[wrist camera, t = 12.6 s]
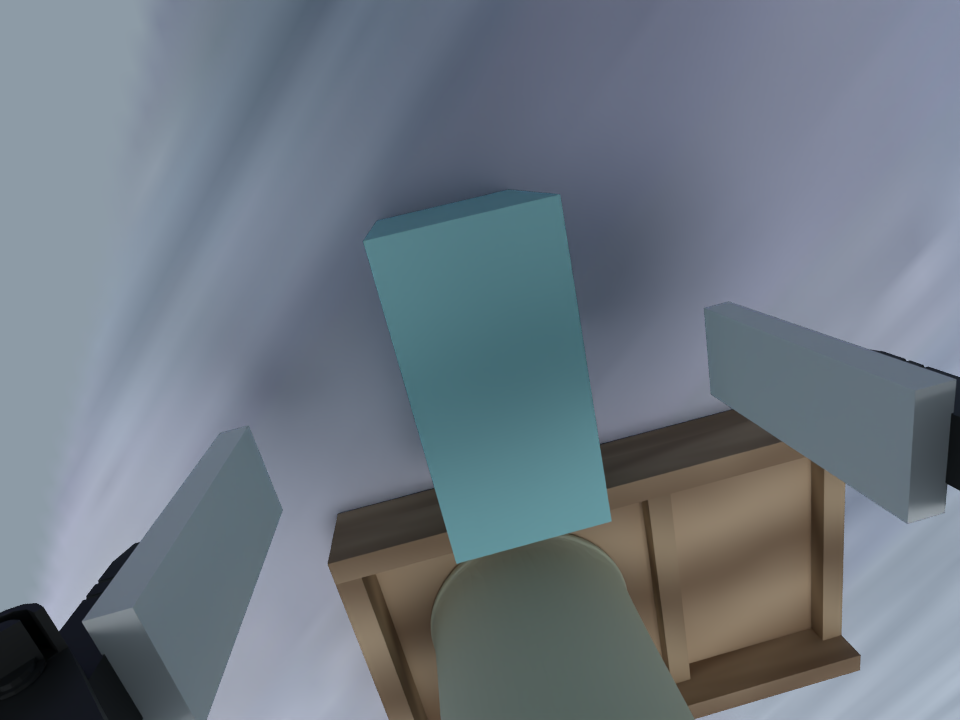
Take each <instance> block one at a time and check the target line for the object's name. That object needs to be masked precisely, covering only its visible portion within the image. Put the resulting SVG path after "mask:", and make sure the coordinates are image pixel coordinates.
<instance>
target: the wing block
mask: <svg viewBox="0 0 960 720" xmlns="http://www.w3.org/2000/svg"><path fill="white" fill-rule="evenodd" d="M363 243H364V246H365V250H366V253H367V257H368V260H369V264H370V267H371V271H372V274H373V278H374V281H375V284H376V288H377V291H378V295H379V298H380V302H381V305H382V309H383V312H384V316H385V319H386V322H387V326H388V329H389V333H390V336H391V340H392V343H393V347H394V350H395V353H396V357H397V360H398V364H399V367H400V371H401V374H402V378H403V381H404V385H405V388H406V391H407V395H408V398H409V402H410V405H411V409H412V412H413V416H414V419H415V423H416V426H417V429H418V433H419V436H420V440H421V443H422V447H423V450H424V454H425V457H426V461H427V464H428V467H429V471H430V474H431V478H432V481H433V485H434V488H435V492H436V495H437V498H438V502H439V505H440V509H441V512H442V516H443V519H444V523H445V526H446V530H447V533H448V536H449V540H450V543H451V547H452V550H453V554H454V557H455V561H456V564H458V563H461V562H465V561H469V560H472V559H476V558H480V557H483V556H487V555H491V554H494V553H498V552H502V551H505V550H509V549H513V548H516V547H520V546H524V545H527V544H531V543H535V542H538V541H542V540H546V539H549V538H553V537H557V536H560V535H564V534H568V533H571V532H575V531H578V530H582V529H586V528H589V527H593V526H597V525H600V524H604V523H608V522H611V521H612V520H611V514H610V507H609V501H608V495H607V488H606V482H605V476H604V469H603V463H602V457H601V450H600V444H599V438H598V431H597V425H596V418H595V412H594V406H593V399H592V393H591V387H590V380H589V374H588V368H587V361H586V355H585V349H584V342H583V336H582V330H581V323H580V317H579V311H578V304H577V298H576V292H575V285H574V279H573V273H572V266H571V260H570V254H569V247H568V241H567V235H566V228H565V222H564V216H563V209H562V203H561V197H560V194H551V193H540V192H530V191H519V190H505V191H501V192H496V193H492V194H488V195H484V196H479V197H475V198H471V199H467V200H462V201H458V202H454V203H450V204H445V205H441V206H437V207H433V208H428V209H424V210H420V211H416V212H411V213H407V214H403V215H399V216H394V217H390V218H386V219H382V220H377V221H376V223H375V224H374V226H373V227H372V229H371V230H370V232H369V233H368V235H367V236H366V237H365V239H364V240H363Z"/></svg>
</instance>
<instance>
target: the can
mask: <svg viewBox="0 0 960 720" xmlns="http://www.w3.org/2000/svg"><path fill="white" fill-rule="evenodd" d="M431 636H432V641H433V645H434V648H435V653H436V663H437V674H438V688H439V702H440V716H441V720H695V719H694V717H693V715H692V713H691V711H690V710H689V708H688V706H687V704H686V702H685V700H684V698H683V696H682V695H681V693H680V691H679V689H678V687H677V685H676V683H675V682H674V680H673V678H672V676H671V674H670V672H669V670H668V668H667V667H666V665H665V663H664V661H663V659H662V657H661V655H660V654H659V652H658V650H657V648H656V646H655V644H654V642H653V641H652V639H651V637H650V635H649V633H648V631H647V629H646V627H645V625H644V623H643V621H642V619H641V617H640V615H639V613H638V611H637V610H636V608H635V606H634V604H633V602H632V600H631V598H630V596H629V593H628V591H627V588H626V584H625V581H624V578H623V576H622V574H621V572H620V570H619V568H618V567H617V565H616V564H615V563H614V561H613V560H612V559H611V558H610V557H609V556H608V555H607V554H606V553H605V552H604V551H603V550H601V549H600V548H599V547H597V546H596V545H594V544H593V543H591V542H589V541H587V540H585V539H582V538H580V537H577V536H574V535H570V534H564V535H560V536H557V537H553V538H549V539H546V540H542V541H538V542H535V543H531V544H527V545H524V546H520V547H516V548H513V549H509V550H505V551H502V552H498V553H494V554H491V555H487V556H483V557H480V558H476V559H472V560H469V561H465V562H461V563H460V564H459V565H458V566H457V567H456V568H455V569H454V570H453V571H452V573H451V574H450V575H449V576H448V578H447V579H446V580H445V582H444V583H443V585H442V587H441V589H440V590H439V592H438V594H437V597H436V599H435V602H434V605H433V609H432V614H431Z"/></svg>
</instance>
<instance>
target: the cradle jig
mask: <svg viewBox="0 0 960 720" xmlns="http://www.w3.org/2000/svg"><path fill="white" fill-rule="evenodd" d="M600 450H601V457H602V463H603V469H604V476H605V482H606V488H607V495H608V501H609V507H610V514H611V520H612V521H611V522H608V523H604V524H600V525H597V526H593V527H589V528H586V529H582V530H578V531H575V532H571V533H568V534H570V535H574V536H577V537H580V538H582V539H585V540H587V541H589V542H591V543H593V544H594V545H596V546H597V547H599V548H600V549H601V550H603V551H604V552H605V553H606V554H607V555H608V556H609V557H610V558H611V559H612V560H613V561H614V563H615V564H616V565H617V567H618V568H619V570H620V572H621V574H622V576H623V578H624V581H625V584H626V588H627V591H628V593H629V596H630V598H631V600H632V602H633V604H634V606H635V608H636V610H637V611H638V613H639V615H640V617H641V619H642V621H643V623H644V625H645V627H646V629H647V631H648V633H649V635H650V637H651V639H652V641H653V642H654V644H655V646H656V648H657V650H658V652H659V654H660V655H661V657H662V659H663V661H664V663H665V665H666V667H667V668H668V670H669V672H670V674H671V676H672V678H673V680H674V682H675V683H676V685H677V687H678V689H679V691H680V693H681V695H682V696H683V698H684V700H685V702H686V704H687V706H688V708H689V710H690V711H691V713H692V715H693V717H694V719H697V718H700V717H703V716H707V715H710V714H713V713H717V712H720V711H724V710H727V709H730V708H734V707H737V706H740V705H744V704H747V703H751V702H754V701H757V700H761V699H764V698H767V697H771V696H774V695H778V694H781V693H784V692H788V691H791V690H794V689H798V688H801V687H805V686H808V685H811V684H815V683H818V682H821V681H825V680H828V679H832V678H835V677H838V676H842V675H845V674H849V673H852V672H855V671H859V670H860V656H861V655H860V654H859V653H858V652H857V651H856V650H855V649H854V648H853V647H852V646H851V645H850V644H849V643H848V642H847V641H846V640H845V639H844V637H843V636H842V635H841V629H842V590H843V550H844V511H845V483H844V482H843V481H841V480H840V479H838V478H837V477H835V476H834V475H832V474H831V473H829V472H828V471H826V470H825V469H823V468H822V467H820V466H819V465H817V464H816V463H814V462H813V461H811V460H810V459H808V458H807V457H805V456H804V455H802V454H800V453H799V452H797V451H796V450H794V449H793V448H791V447H790V446H788V445H787V444H785V443H784V442H782V441H781V440H779V439H778V438H776V437H775V436H773V435H772V434H770V433H769V432H767V431H766V430H764V429H763V428H761V427H760V426H758V425H757V424H755V423H753V422H752V421H750V420H749V419H747V418H746V417H744V416H743V415H741V414H740V413H738V412H737V411H735V410H734V409H733V410H729V411H726V412H722V413H718V414H714V415H711V416H707V417H703V418H699V419H695V420H692V421H688V422H684V423H680V424H677V425H673V426H669V427H665V428H661V429H658V430H654V431H650V432H646V433H642V434H639V435H635V436H631V437H627V438H624V439H620V440H616V441H612V442H608V443H605V444H601V445H600ZM459 564H460V563H458V564H456V561H455V557H454V554H453V550H452V547H451V543H450V540H449V536H448V533H447V530H446V526H445V523H444V519H443V516H442V512H441V509H440V505H439V502H438V498H437V495H436V492H435V488H434V489H431V490H427V491H423V492H419V493H416V494H412V495H408V496H404V497H400V498H397V499H393V500H389V501H385V502H382V503H378V504H374V505H370V506H366V507H363V508H359V509H355V510H351V511H348V512H344V513H340V514H338V515H337V520H336V525H335V530H334V535H333V540H332V545H331V550H330V555H329V560H328V566H329V569H330V572H331V574H332V577H333V579H334V582H335V584H336V587H337V589H338V592H339V594H340V597H341V599H342V602H343V604H344V607H345V610H346V612H347V615H348V617H349V620H350V622H351V625H352V627H353V630H354V632H355V635H356V637H357V640H358V642H359V645H360V648H361V650H362V653H363V655H364V658H365V660H366V663H367V665H368V668H369V670H370V673H371V675H372V678H373V680H374V683H375V686H376V688H377V691H378V693H379V696H380V698H381V701H382V703H383V706H384V708H385V711H386V713H387V716H388V718H389V720H441V716H440V702H439V688H438V674H437V663H436V653H435V648H434V645H433V641H432V636H431V614H432V609H433V605H434V602H435V599H436V597H437V594H438V592H439V590H440V589H441V587H442V585H443V583H444V582H445V580H446V579H447V578H448V576H449V575H450V574H451V573H452V571H453V570H454V569H455V568H456V567H457V566H458V565H459Z"/></svg>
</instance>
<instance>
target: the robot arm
mask: <svg viewBox="0 0 960 720" xmlns="http://www.w3.org/2000/svg"><path fill="white" fill-rule="evenodd" d="M704 315H705V327H706V340H707V352H708V365H709V377H710V390H711V395H713V396H714V397H716V398H717V399H719V400H720V401H722V402H723V403H725V404H726V405H728V406H729V407H731V408H732V409H734V410H735V411H737V412H738V413H740V414H741V415H743V416H744V417H746V418H747V419H749V420H750V421H752V422H753V423H755V424H757V425H758V426H760V427H761V428H763V429H764V430H766V431H767V432H769V433H770V434H772V435H773V436H775V437H776V438H778V439H779V440H781V441H782V442H784V443H785V444H787V445H788V446H790V447H791V448H793V449H794V450H796V451H797V452H799V453H800V454H802V455H804V456H805V457H807V458H808V459H810V460H811V461H813V462H814V463H816V464H817V465H819V466H820V467H822V468H823V469H825V470H826V471H828V472H829V473H831V474H832V475H834V476H835V477H837V478H838V479H840V480H841V481H843V482H844V483H846V484H848V485H849V486H851V487H852V488H854V489H855V490H857V491H858V492H860V493H861V494H863V495H864V496H866V497H867V498H869V499H870V500H872V501H873V502H875V503H876V504H878V505H879V506H881V507H882V508H884V509H885V510H887V511H888V512H890V513H891V514H893V515H895V516H896V517H898V518H899V519H901V520H902V521H904V522H905V523H907V524H909V523H913V522H916V521H919V520H923V519H926V518H930V517H933V516H936V515H940V514H943V513H945V505H946V493H947V484H948V485H950V486H952V487H954V488H956V489H958V490H960V377H958V376H955V375H952V374H949V373H946V372H943V371H940V370H937V369H934V368H931V367H924V365H922V364H919V363H916V362H913V361H906V359H904V358H901V357H898V356H895V355H892V354H889V353H886V352H883V351H876V350H870V349H866V348H863V347H861V346H858V345H855V344H852V343H849V342H846V341H843V340H840V339H837V338H834V337H831V336H828V335H825V334H822V333H820V332H817V331H814V330H811V329H808V328H805V327H802V326H799V325H796V324H793V323H790V322H787V321H784V320H781V319H779V318H776V317H773V316H770V315H767V314H764V313H761V312H758V311H755V310H752V309H749V308H746V307H743V306H740V305H738V304H735V303H732V302H725V303H721V304H718V305H714V306H710V307H706V308H704ZM282 511H283V509H282V507H281V504H280V502H279V500H278V497H277V495H276V492H275V490H274V487H273V485H272V482H271V480H270V477H269V475H268V472H267V470H266V467H265V465H264V463H263V460H262V458H261V455H260V453H259V450H258V448H257V445H256V443H255V440H254V438H253V435H252V433H251V431H250V428H249V426H245V427H241V428H237V429H233V430H230V431H226V432H222V433H220V434H219V435H218V437H217V438H216V439H215V441H214V442H213V443H212V445H211V446H210V448H209V449H208V450H207V452H206V453H205V454H204V456H203V457H202V458H201V460H200V461H199V463H198V464H197V465H196V467H195V468H194V469H193V471H192V472H191V473H190V475H189V476H188V477H187V479H186V480H185V482H184V483H183V484H182V486H181V487H180V488H179V490H178V491H177V492H176V494H175V495H174V497H173V498H172V499H171V501H170V502H169V503H168V505H167V506H166V507H165V509H164V510H163V512H162V513H161V514H160V516H159V517H158V518H157V520H156V521H155V522H154V524H153V525H152V527H151V528H150V529H149V531H148V532H147V533H146V535H145V536H144V537H143V539H142V540H141V542H138V543H135V544H133V545H132V546H131V547H130V548H129V549H127V550H126V551H125V552H124V553H123V554H122V555H120V556H119V557H118V558H117V559H116V560H114V561H113V562H112V563H111V565H110V566H109V567H108V569H107V570H106V571H105V573H104V574H103V575H102V576H101V578H100V579H99V580H98V582H99V583H98V584H95V586H94V587H93V588H92V589H91V591H90V592H89V593H88V595H87V596H86V597H87V599H86V600H83V601H82V602H81V604H80V605H79V606H78V608H77V609H76V610H75V612H74V613H73V614H72V615H71V617H70V618H69V619H68V621H67V622H66V623H65V625H64V626H63V627H62V628H61V630H60V631H58V629H57V628H56V626H55V625H54V623H53V622H52V620H51V618H50V617H49V615H48V614H47V612H46V610H45V609H44V607H42V606H41V605H39V604H37V603H32V604H23V605H20V606H17V607H14V608H11V609H8V610H5V611H3V612H1V613H0V720H207V717H208V715H209V712H210V709H211V706H212V704H213V701H214V698H215V695H216V693H217V690H218V687H219V684H220V682H221V679H222V676H223V673H224V671H225V668H226V665H227V662H228V659H229V657H230V654H231V651H232V648H233V646H234V643H235V640H236V637H237V635H238V632H239V629H240V626H241V624H242V621H243V618H244V615H245V613H246V610H247V607H248V604H249V602H250V599H251V596H252V593H253V591H254V588H255V585H256V582H257V580H258V577H259V574H260V571H261V569H262V566H263V563H264V560H265V558H266V555H267V552H268V549H269V547H270V544H271V541H272V538H273V535H274V533H275V530H276V527H277V524H278V522H279V519H280V516H281V513H282Z"/></svg>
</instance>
